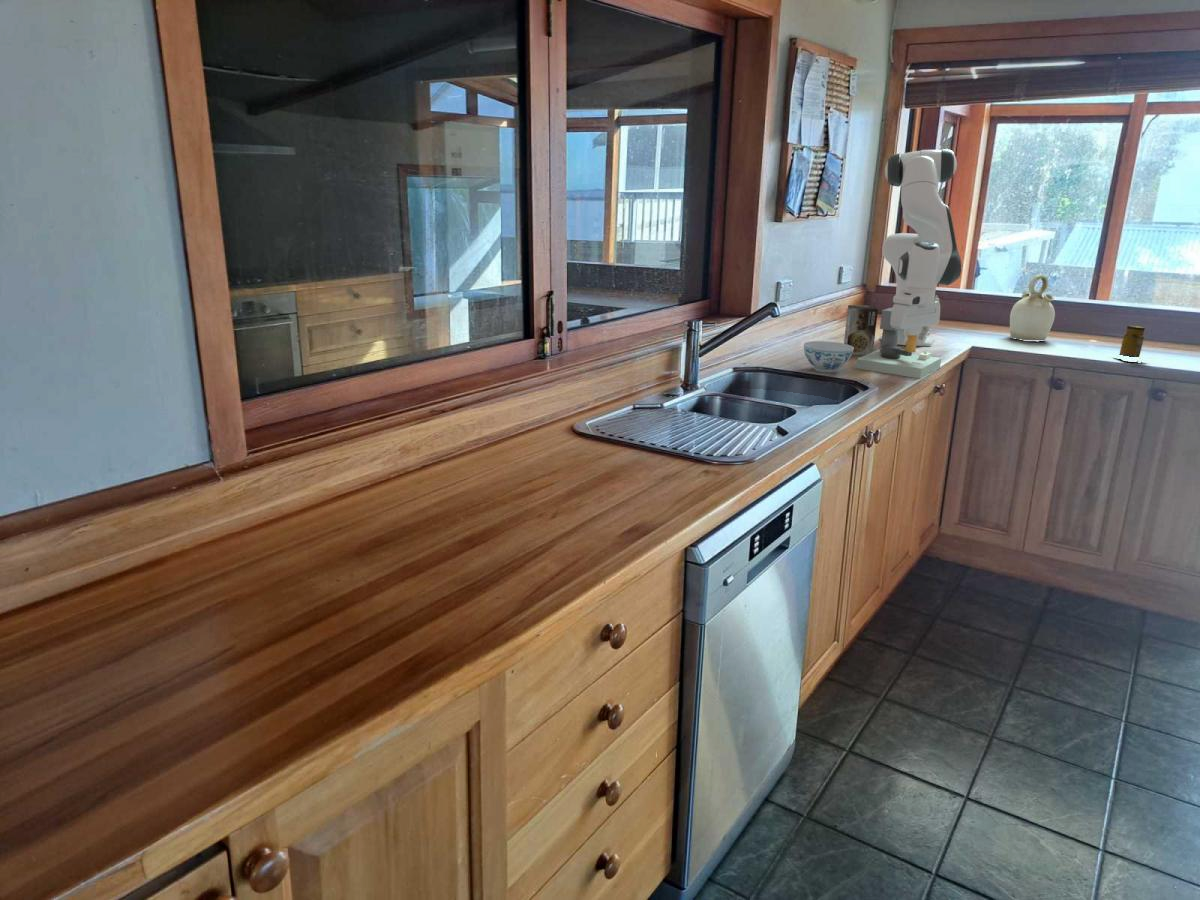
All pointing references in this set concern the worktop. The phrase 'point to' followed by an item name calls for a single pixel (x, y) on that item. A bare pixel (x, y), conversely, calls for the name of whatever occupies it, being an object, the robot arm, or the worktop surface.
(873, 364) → the green base post mechanism
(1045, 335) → the jug
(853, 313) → the coffee box
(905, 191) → the robot arm
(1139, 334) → the condiment
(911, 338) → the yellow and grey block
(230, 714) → the worktop surface
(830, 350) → the chinaware
